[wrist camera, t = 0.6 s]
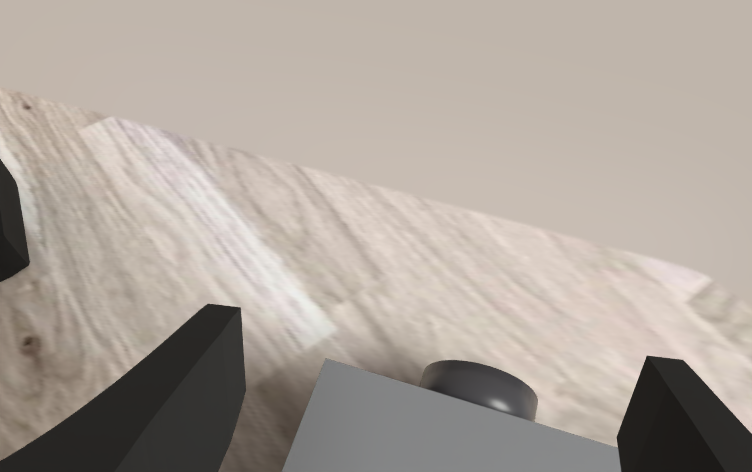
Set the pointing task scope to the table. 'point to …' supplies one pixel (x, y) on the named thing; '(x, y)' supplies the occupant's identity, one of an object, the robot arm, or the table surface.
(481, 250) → the table surface
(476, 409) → the camera housing
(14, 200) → the portable radio
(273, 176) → the table surface
